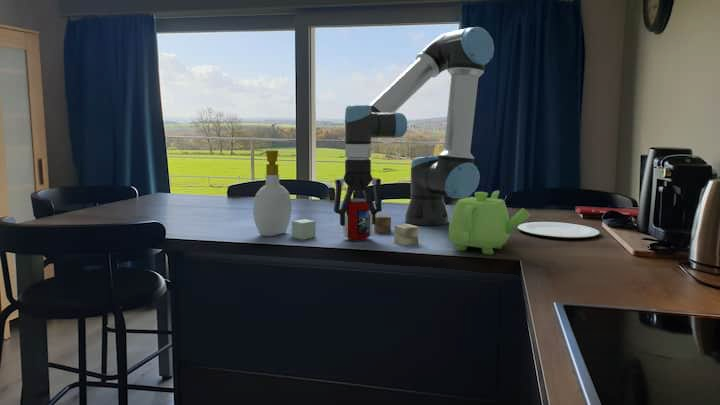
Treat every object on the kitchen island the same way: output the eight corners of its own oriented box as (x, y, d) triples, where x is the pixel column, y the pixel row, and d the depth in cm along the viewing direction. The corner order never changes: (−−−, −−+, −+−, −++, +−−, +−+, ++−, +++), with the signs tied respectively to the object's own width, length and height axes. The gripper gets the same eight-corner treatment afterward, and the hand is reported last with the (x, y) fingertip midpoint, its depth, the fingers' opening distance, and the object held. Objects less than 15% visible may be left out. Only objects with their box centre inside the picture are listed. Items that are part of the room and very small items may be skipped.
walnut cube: (388, 229, 176) (388, 214, 175) (390, 232, 171) (390, 217, 170) (373, 229, 175) (373, 214, 175) (375, 232, 171) (375, 217, 170)
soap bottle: (277, 228, 175) (276, 148, 171) (298, 232, 170) (297, 149, 166) (244, 236, 163) (243, 150, 159) (266, 240, 158) (264, 151, 154)
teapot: (516, 263, 134) (519, 200, 132) (436, 252, 145) (438, 194, 143) (540, 245, 155) (544, 190, 153) (469, 236, 166) (471, 185, 164)
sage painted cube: (305, 234, 166) (305, 219, 166) (315, 237, 163) (315, 221, 162) (292, 237, 163) (292, 220, 162) (302, 239, 160) (302, 223, 159)
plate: (600, 230, 179) (600, 225, 179) (598, 245, 157) (599, 239, 157) (523, 223, 190) (523, 219, 189) (511, 237, 167) (511, 231, 167)
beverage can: (366, 242, 156) (366, 201, 154) (344, 240, 157) (344, 200, 156) (370, 237, 163) (371, 198, 161) (349, 236, 164) (349, 197, 162)
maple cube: (408, 240, 160) (408, 224, 159) (418, 243, 156) (418, 226, 155) (394, 242, 157) (394, 225, 157) (403, 245, 153) (404, 228, 152)
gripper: (386, 157, 162) (385, 231, 166) (322, 158, 158) (322, 234, 161) (394, 159, 155) (393, 236, 159) (327, 159, 150) (327, 240, 154)
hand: (357, 235), depth 160 cm, fingers closed on beverage can, 7 cm apart
